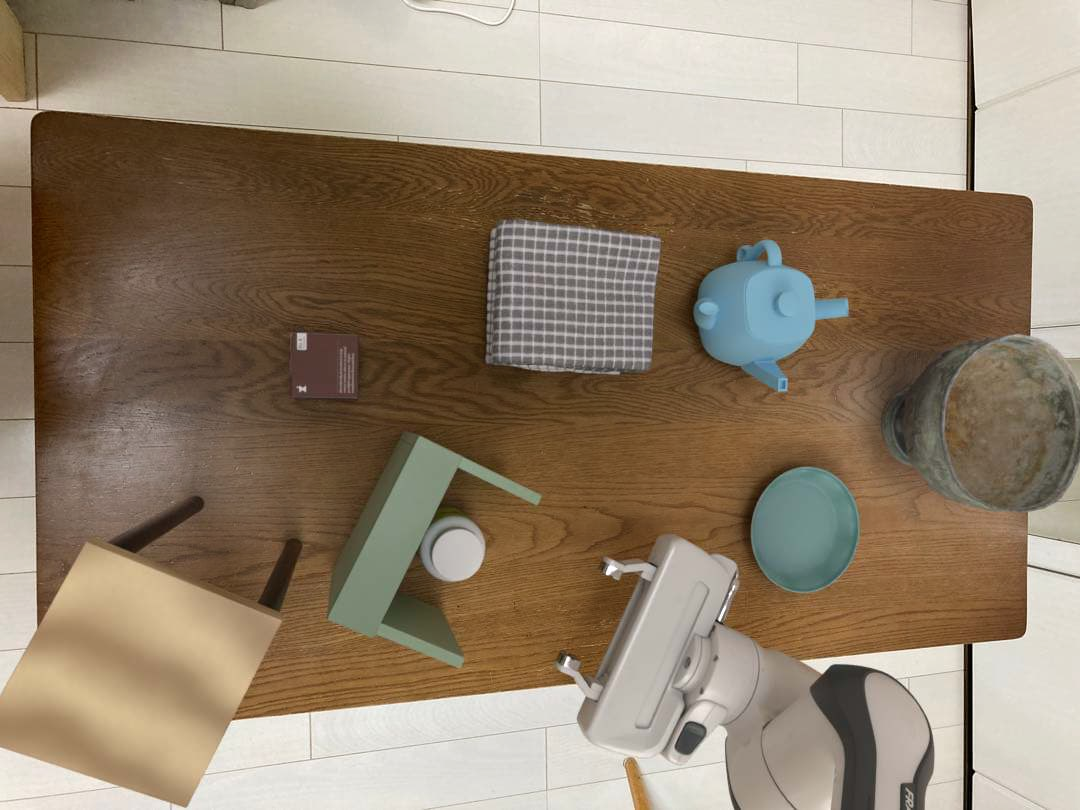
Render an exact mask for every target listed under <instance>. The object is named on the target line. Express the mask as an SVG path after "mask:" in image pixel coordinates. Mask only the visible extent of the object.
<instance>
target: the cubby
mask: <svg viewBox="0 0 1080 810" xmlns="http://www.w3.org/2000/svg"><path fill="white" fill-rule="evenodd" d="M458 469H460V470H462V471H464V472H466V473H468V474H470V475H471V476H474V477H476V478H478V479H481V480H482V481H485V482H486V483H489V484H490V485H493V486H495V487H497V488H499V489H502V490H503V491H506V492H508V493H510V494H511V495H513V496H516V497H518V498H520V499H522V500H524V501H526V502H528V503H530V504H532V505H535V506H538V505H539V504H540V502H541V500H542V498H543V495H542V494H541V493H539V492H537V491H535V490H532V489H530V488H529V487H527V486H524V485H522V484H520V483H518V482H516V481H514V480H512V479H509V478H507V477H506V476H503V475H502V474H499V473H498V472H495V471H493V470H491V469H489V468H487V467H485V466H483V465H481V464H479V463H477V462H475V461H473V460H470V459H468V458H467V457H464V456H463V455H461V454H459V453H457V452H454V451H453V450H451V449H449V448H447V447H445V446H442V445H440V444H438V443H437V442H434V441H432V440H430V439H428V438H426V437H424V436H422V435H420V434H416V433H414V432H410V431H408V430H403V431H402V433H401V435H400V437H399V439H398V441H397V443H396V445H395V446H394V449H393V451H392V453H391V455H390V457H389V458H388V461H387V463H386V465H385V466H384V468H383V471H382V473H381V475H380V477H379V479H378V480H377V482H376V484H375V487H374V488H373V490H372V492H371V494H370V496H369V498H368V500H367V502H366V503H365V506H364V508H363V510H362V512H361V513H360V516H359V518H358V520H357V522H356V523H355V525H354V528H353V530H352V531H351V534H350V535H349V538H348V540H347V542H346V543H345V545H344V547H343V549H342V552H341V554H340V555H339V557H338V559H337V561H336V563H335V565H334V567H333V569H332V571H331V575H330V585H329V594H328V603H327V613H326V620H327V621H329V622H331V623H334V624H337V625H339V626H341V627H344V628H346V629H349V630H350V631H351V630H352V631H353V632H355V633H359V634H361V635H363V636H366V637H369V638H371V639H374V638H375V637H376V636H380V637H381V638H384V639H387V640H389V641H392V642H394V643H396V644H398V645H402V646H404V647H406V648H408V649H411V650H413V651H416V652H418V653H421V654H422V655H425V656H428V657H431V658H433V659H435V660H438V661H440V662H442V663H445V664H447V665H450V666H453V667H455V668H457V669H461V668H462V667H463V664H464V661H465V660H466V656H465V655H464V652H463V651H462V648H461V646H460V644H459V642H458V640H457V638H456V636H455V633H454V632H453V629H452V627H451V624H450V622H449V621H448V619H447V617H446V615H445V613H444V610H443V609H441V608H439V607H436V606H435V605H433V604H432V605H431V604H429V603H427V602H426V601H424V600H423V601H422V600H420V599H418V598H415V597H413V596H411V595H408V594H407V593H404V592H402V591H399V588H400V586H401V584H402V582H403V580H404V577H405V576H406V574H407V572H408V570H409V567H410V566H411V563H412V562H413V560H414V557H415V555H416V553H417V549H418V547H419V545H420V543H421V541H422V539H423V537H424V535H425V533H426V531H427V529H428V527H429V525H430V523H431V521H432V519H433V517H434V515H435V513H436V511H437V509H438V507H440V504H441V503H442V500H443V498H444V497H445V494H446V492H447V491H448V488H449V486H450V484H451V482H452V481H453V478H454V477H455V474H456V472H457V470H458Z"/></svg>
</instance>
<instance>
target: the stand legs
mask: <svg viewBox="0 0 1080 810" xmlns="http://www.w3.org/2000/svg"><path fill="white" fill-rule="evenodd" d="M204 507H205V501H204V499H203V498H202V497H201V496H199V495H191V496H189V497H188V498H186V499H184V500H182V501H181V502H179V503H176V504H175V505H173V506H171V507H169V508H167V509H166V510H163V511H161V512H160V513H158V514H156V515H154V516H152V517H151V518H150V517H149V519H147V520H145V521H143V522H141V523H139V524H137V525H135V526H133V527H131V528H130V529H128V530H126V531H123V533H120V534H119V535H116V536H115V537H113V538H110V539H109V540H107V541H106V542H107V543H110V544H112V545H115V546H117V547H120V548H122V549H125V550H127V551H130V552H132V553H134V554H137V553H139V552H141V551H142V550H144V549H145V548H147V547H148V546H150V545H151V544H153V543H154V542H155V541H157V540H159V539H160V538H161V537H163V536H164V535H165V536H166V534H168V533H170V531H172V530H174V529H175V528H177V527H178V526H180V525H181V524H183V523H185V522H186V521H187V520H188V519H190V518H192V517H193V516H195V515H196V514H198V513H199V512H201V511H202V510H203V509H204ZM302 543H303V542H302V541H301V540H300V539H299V538H296V537H291V538H290V539H288V540H287V541H286V542H285V544H284V546H283V549H282V550H281V553H280V555H279V557H278V559H277V561H276V563H275V565H274V567H273V569H272V571H271V573H270V575H269V578H268V580H267V582H266V584H265V585H264V588H263V589H262V592H261V594H260V597H259V599H258V601H257V603H258V604H261V605H263V606H266V607H268V608H271V609H273V610H276V611H278V612H281V610H282V608H283V604H284V601H285V598H286V595H287V593H288V589H289V586H290V583H291V581H292V577H293V575H294V572H295V570H296V566H297V564H298V561H299V558H300V555H301V552H302V548H303V544H302Z"/></svg>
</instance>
